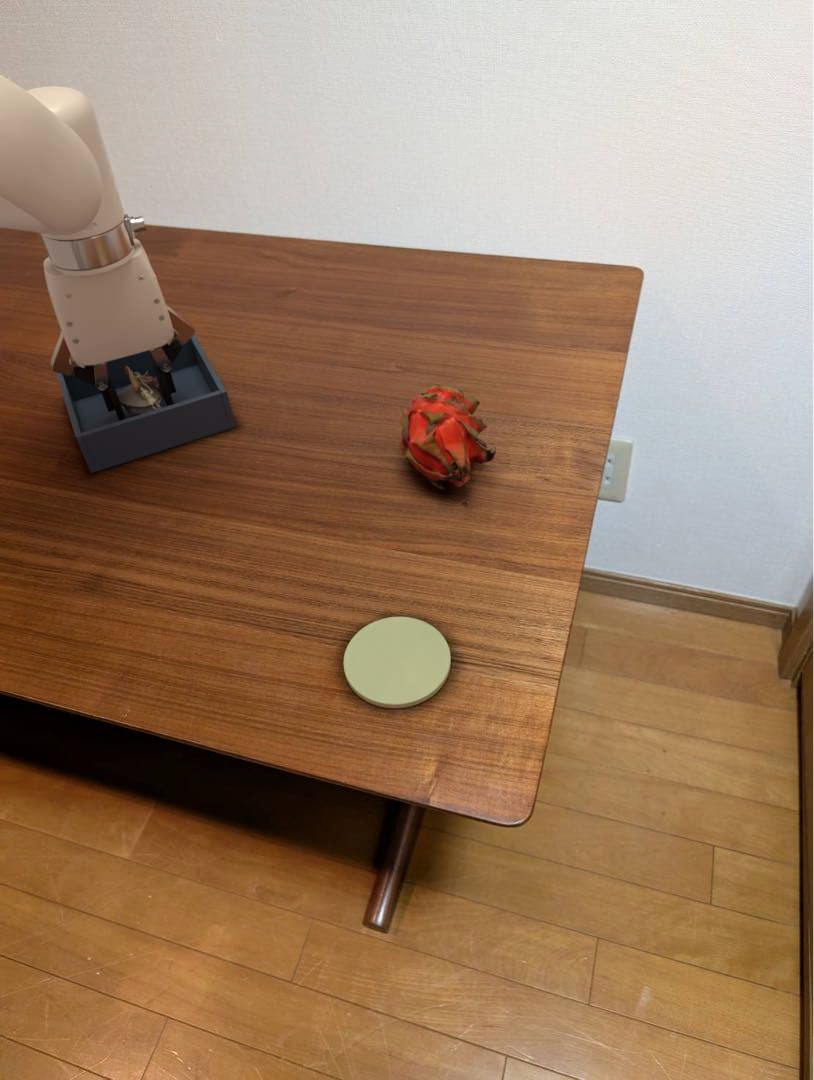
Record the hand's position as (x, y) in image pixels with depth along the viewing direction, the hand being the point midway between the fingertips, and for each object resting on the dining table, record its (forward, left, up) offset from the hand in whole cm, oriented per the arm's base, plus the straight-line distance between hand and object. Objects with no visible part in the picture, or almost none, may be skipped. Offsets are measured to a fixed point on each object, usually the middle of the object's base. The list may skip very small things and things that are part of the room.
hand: (143, 404), depth 88 cm
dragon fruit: (+24, -23, -2) cm, 33 cm away
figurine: (0, 0, -1) cm, 1 cm away
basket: (0, 0, -2) cm, 2 cm away
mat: (+10, -42, -2) cm, 43 cm away
